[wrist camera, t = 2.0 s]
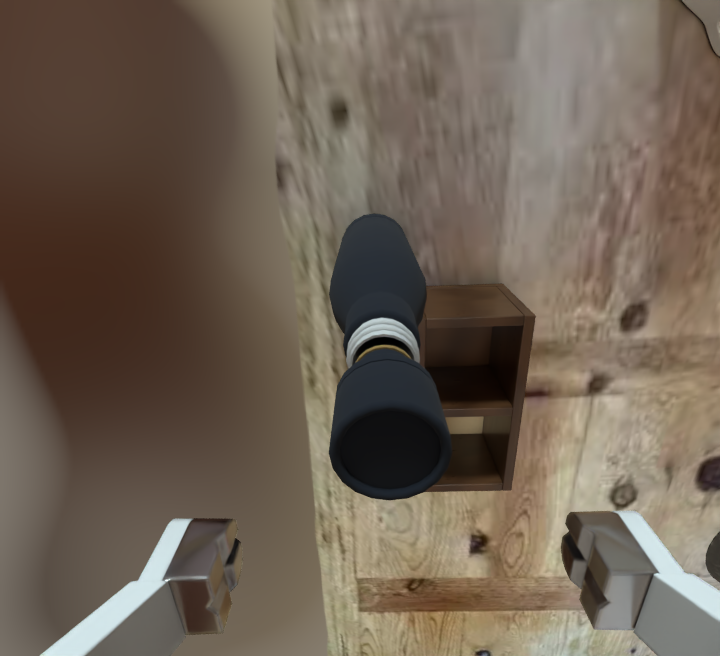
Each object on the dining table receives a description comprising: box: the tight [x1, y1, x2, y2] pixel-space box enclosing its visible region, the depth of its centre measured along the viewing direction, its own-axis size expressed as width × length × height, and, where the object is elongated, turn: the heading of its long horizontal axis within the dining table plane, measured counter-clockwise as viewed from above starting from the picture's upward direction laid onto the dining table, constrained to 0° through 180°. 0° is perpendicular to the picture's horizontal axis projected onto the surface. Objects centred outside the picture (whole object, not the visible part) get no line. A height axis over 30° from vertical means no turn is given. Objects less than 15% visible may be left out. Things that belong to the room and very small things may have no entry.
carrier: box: [418, 284, 536, 492], centre depth 41 cm, size 10×19×9 cm, turn 2°
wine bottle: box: [329, 214, 452, 500], centre depth 27 cm, size 6×6×30 cm
